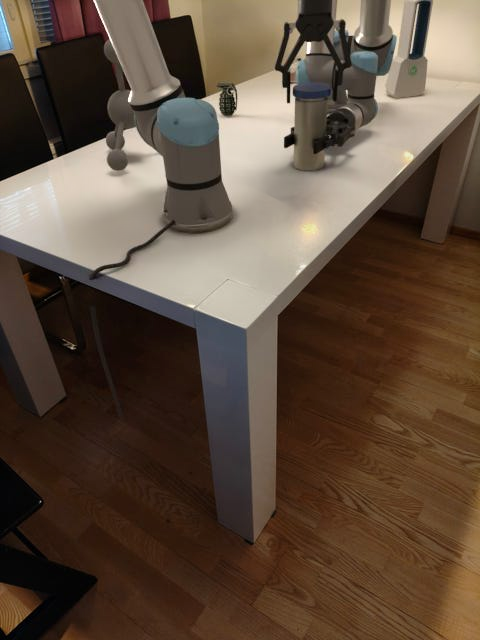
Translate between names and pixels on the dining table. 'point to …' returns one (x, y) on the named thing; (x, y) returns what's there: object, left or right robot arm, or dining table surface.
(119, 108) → the molecular model
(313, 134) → the jar
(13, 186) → the dining table surface
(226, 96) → the grenade
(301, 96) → the lid
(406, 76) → the electronic device
